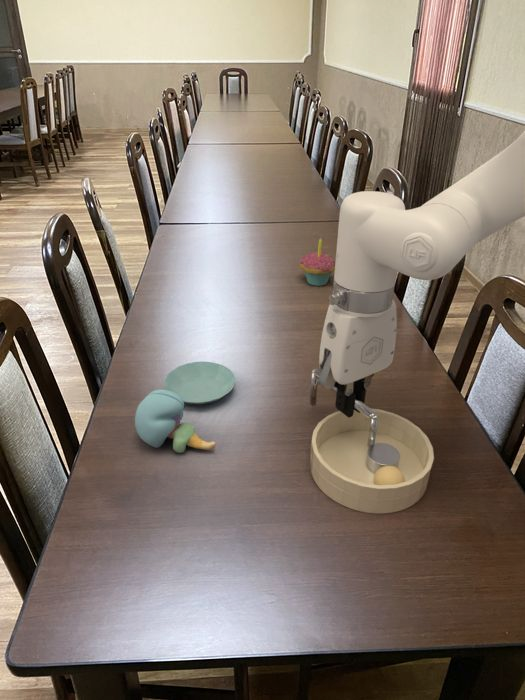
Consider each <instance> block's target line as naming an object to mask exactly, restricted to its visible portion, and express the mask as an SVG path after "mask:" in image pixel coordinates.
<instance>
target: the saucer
mask: <svg viewBox="0 0 525 700" xmlns="http://www.w3.org/2000/svg"><path fill="white" fill-rule="evenodd" d="M235 384H236V376H235V374H234V372H233V371H232V370H231V369H230V368H228V367H227V366H225V365H223V364H220V363H217V362H211V361H193V362H188V363H185V364H182V365H180V366H177V367H175V368H174V369H172V370H171V371H170V372H169V373H168V374H167V375H166V376H165V378H164V380H163V388H164V390H169V391H172V392H175V393H177V394H178V395H180V396H181V397H182V399H183V401H184V404H190V405H204V404H205V405H206V404H209V403H213V402H215V401H216V402H217V401H218V400H220V399H221V398H223V397H225V396H226V395H227V394H229V393H230V392H231V391H232V390H233V388H234V386H235Z"/></svg>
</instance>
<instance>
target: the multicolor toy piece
mask: <svg viewBox="0 0 525 700" xmlns="http://www.w3.org/2000/svg"><path fill="white" fill-rule="evenodd" d="M184 409H185V402H184V401H183V399H182V397H181V396H180V395H178V394H177V393H175V392H172V391H169V390H165V389H163V388H161V389H160V388H159V389H155V390H153V391H151V392H149V393H148V395H146V396H145V397H144V398H143V400H141V402H140V403H139V405H138V406H137V408H136V411H135V414H134V426H135V430H136V433H137V435H138V437H139V438H140V439H141V440H142V441H143V442H144V443H146V444H148V446H152V447H153V448H160V447H161V446H163V444H164V443H165V440H166V439H167V438H169V439H173V440H172V448H173V450H174V452H176V453H178V454H182V453H183V454H184V452H185V451H186V448H187V447H191V448H194V449H198V450H205V451H213V450H214V449H215V448H216V442H215V441H211V442H209V441H205V440H204V439H202V438H200V437H199V436H198V435H197V434H196V428H195V426H194V425H193V424H190V423H186V422H181V420H183V418H184Z"/></svg>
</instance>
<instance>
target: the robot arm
mask: <svg viewBox="0 0 525 700" xmlns="http://www.w3.org/2000/svg"><path fill="white" fill-rule="evenodd" d="M338 217H339V218H338V229H337V240H336V251H335V261H336V262H335V270H334V273H333V274H334V276H333V286H332V287H333V288H332V293H331V294H329V295H328V297H327V299H328V303H329V305H328V308H327V312H326V316H325V318H324V323H323V328H322V333H321V338H320V345H319V357H318V366H319V367H318V368H319V370H321V371H322V373H321V375H320V378H319V379H318V385H320V386H321V387H322V388H324V389H331V388H334V387H336V388H337V393H336V396H335V408H336V409H337V410H338V411H341V412H342V413H343V414H344V415H346V416H347V417H348V418H350V417H352V416H353V413H354V410H355V411H357V412H359V413H361V412H360V411H358V410H357V409H356V408H355V407H354V404H355V397H356V398H357V399H358V400H360V401H361V402H362V403H363V404H365V403H366V394H367V389H368V388H369V387H370V386H371V384H372V378H373V377H374V375H375V374H376V373H379V372H381V371H383V370H384V369H387V368H389V366H391V365H392V363H393V362H394V361H393V360H394V356H395V350H396V342H397V341H396V340H397V330H398V329H397V326H398V325H397V324H398V315H397V306H396V305H397V304H396V301H395V299H394V292H395V286H396V279H397V273H400V274H403V275H404V276H407V277H410V278H412V279H416V280H421V281H434V280H437V279H440V278H443V277H444V276H447V274H449V273H450V272H452V270H453V269H454V268H455V267H456V266H457V265H458V263H459V262H461V260H462V259H463V258H464V257H465V255H466V254H467V253H469V251H470V250H471V249H472V248H473V247H474V246H475V245H477V244H479V243H480V242H482V241H483V240H485V239H487V238H489V237H490V236H492V235H494V234H495V233H498V232H499V231H500V230H502V229H504V228H506V227H507V226H509V225H512V224H513V223H515V222H517V221H518V220H521V219H522V218H524V217H525V130H524V131H523V132H522V133H521V134H520V135H519V136H518V137H517V138H516V139H515V140H514V141H513V142H512V143H511V144H510V145H508V146H507V147H505V149H503V150H502V151H500V152H499V153H497V154H496V155H495V156H493V157H491V158H490V159H488V160H487V161H485V162H484V163H483V164H481V165H480V166H479V167H477V168H475V169H474V170H472V171H471V172H470V173H468V174H466V175H465V176H464V177H462V178H461V179H459V180H458V181H456V182H455V183H454V184H452V185H451V186H449V187H447V188H446V189H444V190H443V191H441V192H439V193H438V194H436V195H435V196H434V197H432V198H430V199H429V200H427V201H426V202H425V203H423V204H422V205H421V206H418V207H415V208H411V209H406V206H405V203H404V202H403V200H402V199H401V198H400V197H398V196H397V195H394V194H391V193H388V192H382V191H377V190H375V191H373V190H368V191H367V190H365V191H364V190H363V191H357V192H353V193H350V194H348V195H347V196H346V197H344V199H343V200H342V202H341V204H340V209H339V216H338Z"/></svg>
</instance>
